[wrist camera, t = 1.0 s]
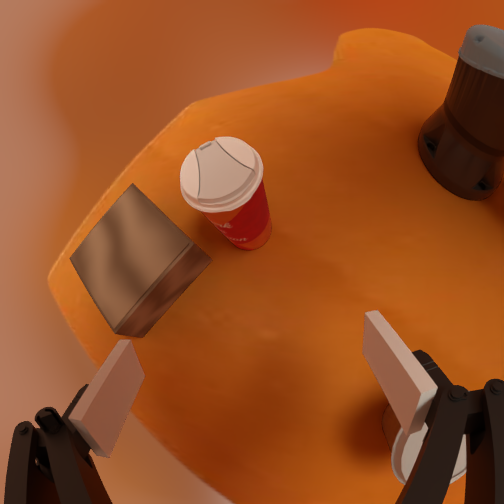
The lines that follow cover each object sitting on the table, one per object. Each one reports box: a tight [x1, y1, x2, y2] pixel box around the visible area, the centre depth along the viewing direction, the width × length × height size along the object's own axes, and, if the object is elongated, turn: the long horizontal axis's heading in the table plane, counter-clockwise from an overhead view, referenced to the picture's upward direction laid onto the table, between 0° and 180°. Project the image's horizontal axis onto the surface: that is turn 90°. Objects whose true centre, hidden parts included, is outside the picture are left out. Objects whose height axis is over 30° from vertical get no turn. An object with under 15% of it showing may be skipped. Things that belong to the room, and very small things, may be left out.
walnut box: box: [70, 183, 212, 338], centre depth 35 cm, size 14×14×6 cm
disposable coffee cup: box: [382, 404, 466, 485], centre depth 19 cm, size 10×10×12 cm
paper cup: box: [180, 137, 272, 250], centre depth 30 cm, size 8×8×14 cm
